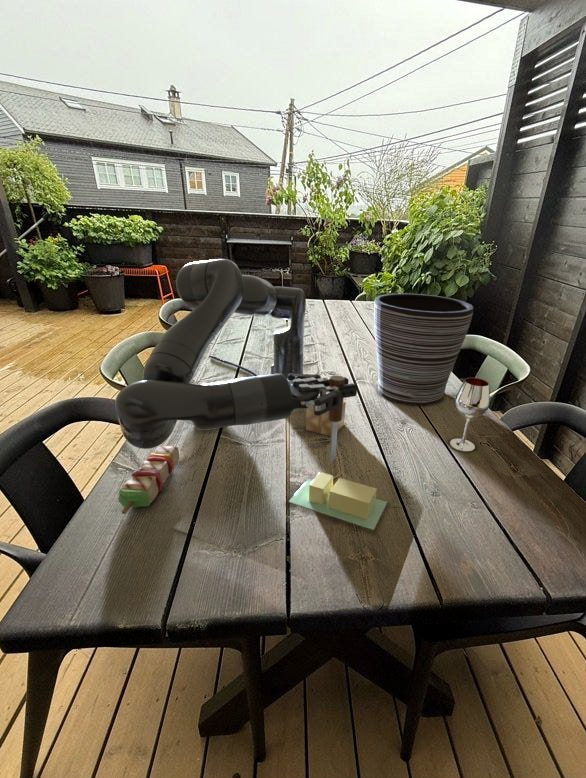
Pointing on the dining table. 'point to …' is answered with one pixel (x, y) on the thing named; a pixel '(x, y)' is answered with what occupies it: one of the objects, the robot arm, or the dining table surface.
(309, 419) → the knife block
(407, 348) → the planter pot
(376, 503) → the butter dish
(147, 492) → the skewer
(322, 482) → the butter slice
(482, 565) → the dining table surface
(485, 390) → the wineglass
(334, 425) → the knife
